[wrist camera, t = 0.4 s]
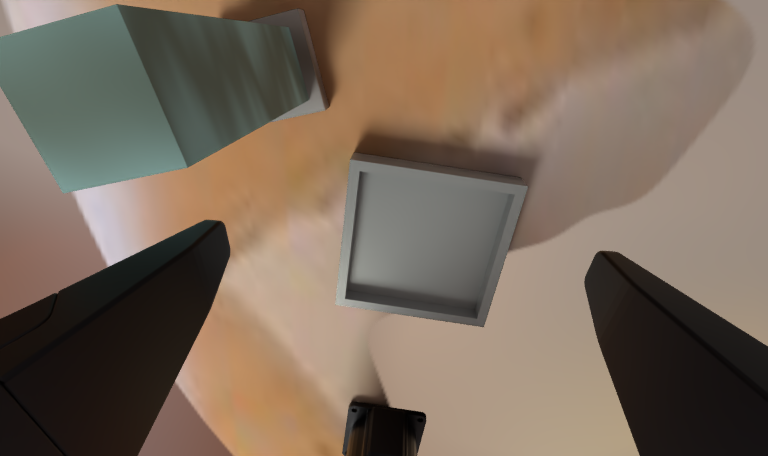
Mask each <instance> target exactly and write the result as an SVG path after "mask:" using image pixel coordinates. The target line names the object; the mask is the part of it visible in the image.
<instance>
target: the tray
mask: <svg viewBox="0 0 768 456" xmlns="http://www.w3.org/2000/svg"><path fill="white" fill-rule="evenodd" d="M527 189H528V186H527V184H526V183H525V182H524V181H523V180H522V178H519V177H513V176H506V175H500V174H493V173H487V172H480V171H473V170H467V169H460V168H454V167H447V166H441V165H434V164H427V163H421V162H414V161H408V160H401V159H395V158H388V157H381V156H375V155H368V154H362V153H355V152H354V153H353V155H352V157H351V159H350V166H349V176H348V186H347V196H346V205H345V215H344V225H343V235H342V245H341V254H340V264H339V274H338V284H337V293H336V303H335V305H340V306H347V307H354V308H360V309H367V310H373V311H380V312H387V313H393V314H400V315H407V316H413V317H420V318H426V319H433V320H440V321H446V322H453V323H460V324H466V325H473V326H480V327H484V324H485V321H486V318H487V315H488V312H489V309H490V306H491V302H492V299H493V296H494V293H495V290H496V287H497V283H498V280H499V277H500V274H501V271H502V268H503V265H504V261H505V258H506V255H507V252H508V249H509V246H510V242H511V239H512V236H513V233H514V230H515V227H516V223H517V220H518V217H519V214H520V211H521V208H522V205H523V201H524V198H525V195H526V192H527Z"/></svg>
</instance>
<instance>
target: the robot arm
mask: <svg viewBox="0 0 768 456" xmlns="http://www.w3.org/2000/svg"><path fill="white" fill-rule="evenodd" d="M229 257H230V245H229V240H228V236H227V232H226V227H225V225H224V223H223V222H222V221H216V220H204V221H202V222H200V223H198V224H196V225H194V226H192V227H190V228H187V229H185V230H183V231H181V232H179V233H177V234H175V235H173V236H171V237H169V238H167V239H165V240H163V241H161V242H159V243H157V244H155V245H153V246H151V247H148V248H146V249H144V250H142V251H140V252H138V253H136V254H134V255H132V256H130V257H128V258H126V259H124V260H122V261H120V262H118V263H116V264H114V265H112V266H109V267H107V268H105V269H103V270H101V271H100V272H97V273H95V274H93V275H91V276H89V277H87V278H85V279H83V280H81V281H79V282H77V283H75V284H72V285H70V286H69V287H67V288H64V289H62V290H60V291H59V293H58V294H57V293H54V294H52V295H50V296H48V297H46V298H44V299H42V300H40V301H38V302H36V303H34V304H31V305H29V306H27V307H25V308H23V309H21V310H18V311H16V312H14V313H12V314H10V315H8V316H6V317H3V318H1V319H0V456H138V454H139V452H140V450H141V448H142V446H143V444H144V442H145V440H146V438H147V436H148V434H149V432H150V430H151V428H152V426H153V424H154V422H155V420H156V418H157V416H158V414H159V412H160V410H161V408H162V406H163V404H164V402H165V400H166V398H167V396H168V394H169V392H170V390H171V388H172V386H173V384H174V382H175V380H176V378H177V376H178V374H179V372H180V370H181V368H182V366H183V364H184V362H185V360H186V358H187V356H188V354H189V352H190V350H191V348H192V346H193V344H194V342H195V340H196V338H197V336H198V334H199V332H200V330H201V328H202V326H203V324H204V322H205V320H206V318H207V316H208V313H209V311H210V309H211V307H212V304H213V302H214V299H215V296H216V293H217V291H218V288H219V285H220V282H221V279H222V277H223V274H224V271H225V268H226V265H227V263H228V260H229ZM585 289H586V294H587V298H588V302H589V306H590V310H591V315H592V319H593V323H594V327H595V331H596V335H597V339H598V342H599V345H600V348H601V351H602V354H603V357H604V359H605V362H606V365H607V368H608V370H609V373H610V376H611V378H612V381H613V384H614V387H615V389H616V392H617V395H618V397H619V400H620V403H621V406H622V408H623V411H624V414H625V417H626V419H627V422H628V425H629V428H630V430H631V433H632V436H633V438H634V441H635V444H636V447H637V449H638V452H639V455H640V456H768V346H766V345H765V344H763V343H761V342H760V341H758V340H757V339H755V338H753V337H752V336H750V335H749V334H747V333H746V332H744V331H742V330H741V329H739V328H737V327H736V326H734V325H733V324H731V323H730V322H728V321H726V320H725V319H723V318H722V317H720V316H719V315H717V314H715V313H714V312H712V311H711V310H709V309H707V308H706V307H704V306H703V305H701V304H699V303H698V302H696V301H694V300H693V299H692V298H690V297H688V296H687V295H685V294H684V293H682V292H680V291H679V290H677V289H676V288H674V287H672V286H671V285H669V284H668V283H666V282H665V281H663V280H661V279H660V278H658V277H657V276H655V275H653V274H652V273H650V272H649V271H647V270H645V269H644V268H642V267H641V266H639V265H638V264H636V263H634V262H633V261H631V260H629V259H628V258H626V257H625V256H623V255H622V254H620V253H618V252H613V251H599V252H598V253H596V255H595V257H594V259H593V261H592V263H591V265H590V268H589V270H588V272H587V274H586V276H585ZM425 424H426V415H425V414H424V413H423V412H418V411H411V410H405V409H397V408H391V407H385V406H378V405H371V404H365V403H358V402H352V403H350V405H349V409H348V416H347V423H346V430H345V438H344V445H343V452H342V453H343V455H344V456H417V453H418V449H419V445H420V442H421V438H422V435H423V431H424V427H425Z"/></svg>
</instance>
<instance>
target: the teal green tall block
mask: <svg viewBox="0 0 768 456" xmlns="http://www.w3.org/2000/svg"><path fill="white" fill-rule="evenodd" d="M0 87H1V89H2V90H3V92H4V94H5V95H6V97H7V99H8V100H9V102H10V104H11V105H12V107H13V109H14V111H15V112H16V114H17V115H18V117H19V119H20V121H21V123H22V124H23V126H24V128H25V129H26V131H27V133H28V134H29V136H30V138H31V139H32V141H33V143H34V144H35V146H36V148H37V149H38V151H39V153H40V155H41V156H42V158H43V160H44V161H45V163H46V165H47V167H48V168H49V170H50V172H51V173H52V175H53V177H54V178H55V180H56V182H57V183H58V185H59V187H60V189H61V190H62V192H63V193H67V192H72V191H77V190H82V189H87V188H91V187H96V186H101V185H106V184H111V183H116V182H121V181H125V180H130V179H135V178H140V177H145V176H150V175H154V174H159V173H164V172H169V171H174V170H179V169H183V168H188V167H190V166H192V165H193V164H195V163H197V162H199V161H201V160H202V159H204V158H206V157H208V156H210V155H211V154H213V153H215V152H217V151H219V150H220V149H222V148H224V147H226V146H227V145H229V144H231V143H233V142H235V141H236V140H238V139H240V138H242V137H244V136H245V135H247V134H249V133H251V132H253V131H254V130H256V129H258V128H260V127H262V126H263V125H265V124H267V123H269V122H274V121H278V120H283V119H287V118H292V117H297V116H301V115H306V114H310V113H315V112H320V111H324V110H326V109H327V108H329V104H328V101H327V97H326V93H325V89H324V85H323V82H322V78H321V74H320V70H319V66H318V63H317V59H316V55H315V51H314V47H313V44H312V40H311V36H310V32H309V28H308V24H307V21H306V17H305V13H304V10H301V9H298V8H297V9H293V10H290V11H286V12H282V13H278V14H274V15H270V16H267V17H263V18H259V19H255V20H251V21H247V22H246V21H238V20H231V19H223V18H216V17H208V16H201V15H193V14H186V13H178V12H171V11H163V10H156V9H148V8H141V7H133V6H126V5H118V4H116V5H112V6H109V7H105V8H102V9H98V10H95V11H91V12H88V13H84V14H80V15H77V16H73V17H70V18H66V19H63V20H59V21H56V22H52V23H49V24H45V25H41V26H38V27H34V28H31V29H27V30H24V31H20V32H17V33H13V34H10V35H6V36H2V37H0Z"/></svg>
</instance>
